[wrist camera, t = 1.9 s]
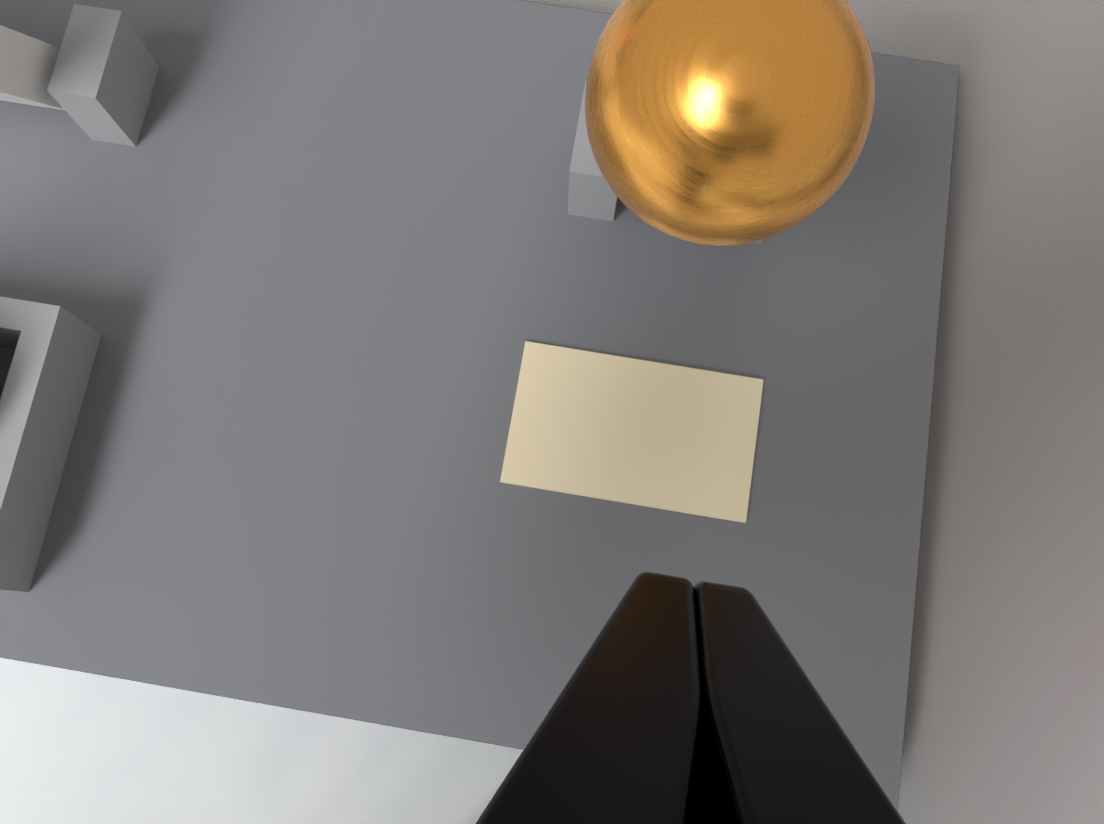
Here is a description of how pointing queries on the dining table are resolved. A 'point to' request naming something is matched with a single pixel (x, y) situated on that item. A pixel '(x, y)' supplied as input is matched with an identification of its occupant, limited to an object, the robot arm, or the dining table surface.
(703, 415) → the switch panel
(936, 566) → the dining table surface
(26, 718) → the dining table surface
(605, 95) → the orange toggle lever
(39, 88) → the grey paddle
